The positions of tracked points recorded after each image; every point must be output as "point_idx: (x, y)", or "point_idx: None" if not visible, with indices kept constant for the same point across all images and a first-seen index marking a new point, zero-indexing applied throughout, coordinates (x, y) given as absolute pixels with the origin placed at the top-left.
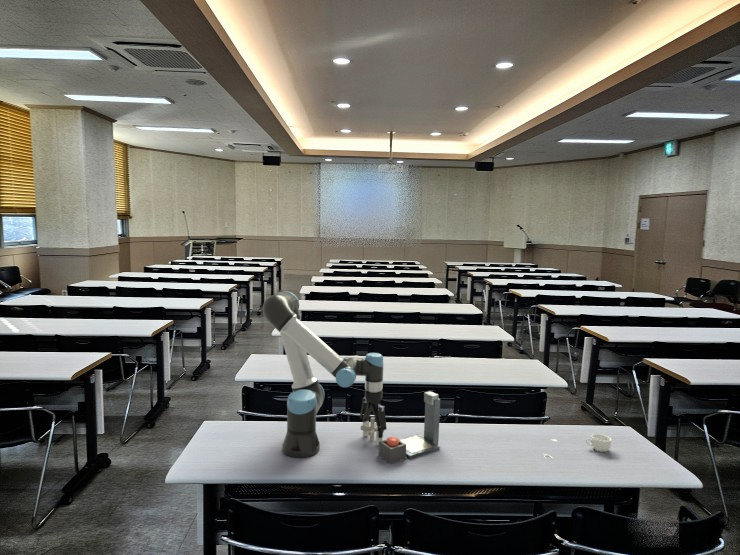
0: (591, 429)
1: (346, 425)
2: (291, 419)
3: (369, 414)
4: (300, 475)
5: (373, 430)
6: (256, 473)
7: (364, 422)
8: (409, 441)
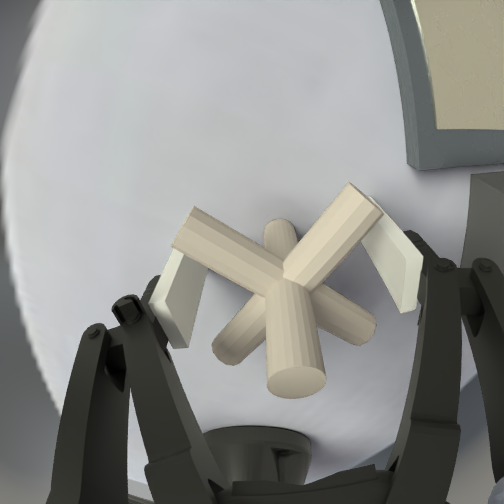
0: None
1: (48, 290)
2: None
3: (169, 381)
4: (382, 447)
5: (332, 297)
6: None
7: (187, 344)
8: (462, 31)
